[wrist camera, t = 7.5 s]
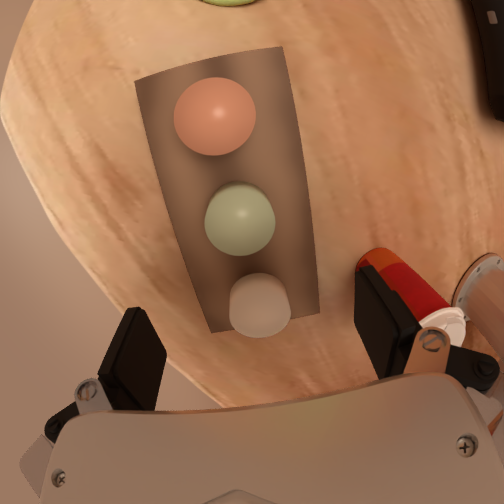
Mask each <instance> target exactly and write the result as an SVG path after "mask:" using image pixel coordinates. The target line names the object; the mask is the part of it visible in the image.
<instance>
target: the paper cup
mask: <svg viewBox="0 0 504 504" xmlns="http://www.w3.org/2000/svg"><path fill="white" fill-rule="evenodd" d="M368 265H373V266H374V268H375V269H376V270H377V271H378V273H379V274H380V275H381V277H382V278H383V279H384V281H385V282H386V284H387V285H388V286H389V288H390V289H391V290H395V291H396V292H397V293H398V294H399V295H400V297H401V298H402V299H403V301H404V302H405V303H406V305H407V306H408V308H409V309H410V310H411V312H412V313H413V315H414V316H415V318H416V319H417V321H418V322H419V323H420V325H421V326H422V328H425V327H438V328H441V329H442V330H444V331H445V332H446V333H447V334H448V335H449V337H450V342H451V345H455V346H458V347H461V345H462V343H463V340H464V338H465V333H466V330H465V326H466V323H465V320H464V314H463V311H462V310H461V309H460V308H458V307H451V306H450V305H449V304H448V303H447V302H446V301H445V300H444V299H443V298H442V297H441V296H440V295H439V294H438V293H437V292H436V291H435V290H434V289H433V288H432V287H431V286H430V285H429V284H428V283H427V282H426V281H425V280H423V279H422V278H421V277H420V276H419V275H418V274H417V273H416V272H415V271H414V270H413V269H412V268H410V267H409V266H408V265H407V264H406V263H405V262H404V261H403V260H401V259H400V258H399V257H398V256H397V255H396V254H394V253H393V252H392V251H390V250H388V249H386V248H376V249H373V250H371V251H369V252H368V253H366V254H365V255H364V256H363V257H362V258H361V259H360V261H359V263H358V264H357V267H356V271H359V268H360V267H363V266H368Z"/></svg>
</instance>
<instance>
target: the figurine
mask: <svg viewBox="0 0 504 504" xmlns="http://www.w3.org/2000/svg"><path fill="white" fill-rule="evenodd" d="M203 1H205V2H207V3H210V4H214V5H218V6H236V5H242V4H247V3H251V2H253V1H255V0H203Z"/></svg>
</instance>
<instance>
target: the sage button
mask: <svg viewBox="0 0 504 504" xmlns="http://www.w3.org/2000/svg"><path fill="white" fill-rule="evenodd" d="M204 224H205V231H206V234H207V236H208V238H209V240H210V241H211V243H212V244H213V245H214V246H215V247H216V248H217V249H219V250H220V251H222V252H224V253H227V254H229V255H234V256H245V255H250V254H253V253H255V252H257V251H259V250H261V249H262V248H263V247H264V246H266V245H267V243H268V242H269V241H270V239H271V238H272V236H273V233H274V230H275V216H274V212H273V210H272V207H271V204H270V202H269V199H268V197H267V195H266V194H265V193H264V191H263V190H262V189H260V188H259V187H258V186H256V185H254V184H252V183H249V182H244V181H235V182H231V183H228V184H225V185H223V186H222V187H220V188H219V189H218V190H217V191H216V192H215V193H214V194H213V196H212V198H211V199H210V202H209V205H208V209H207V212H206V216H205V223H204Z"/></svg>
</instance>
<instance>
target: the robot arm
mask: <svg viewBox="0 0 504 504" xmlns="http://www.w3.org/2000/svg"><path fill="white" fill-rule="evenodd" d="M452 307H458V308H460V309H461V310H462V311H463V314H464V320H465V321H468V320H471V321H472V322H473V323H474V325H475V326H476V327H477V328H478V329H479V331H480V332H481V333H482V334H483V336H484V337H485V338H486V340H487V341H488V342H489V343H490V345H491V346H492V347H493V349H494V350H495V351H496V353H497V354H498V356H499V357H500V358H501V360H502V361H503V362H504V262H503V260H502V258H501V257H500V256H498V255H497V254H494V253H491V254H487V255H485V256H483V257H481V258H480V259H479V260H478V261H476V262H475V263H474V264H473V265H472V266H471V267H470V269H469V270H468V271H467V272H466V274H465V275H464V277H463V278H462V280H461V282H460V284H459V285H458V287H457V290H456V292H455V295H454V299H453V304H452ZM354 323H355V326H356V329H357V331H358V333H359V335H360V337H361V339H362V342H363V344H364V346H365V348H366V351H367V353H368V355H369V357H370V360H371V362H372V364H373V367H374V369H375V371H376V374H377V376H378V378H379V380H375V381H372V382H368V383H364V384H361V385H357V386H353V387H349V388H344V389H340V390H336V391H332V392H327V393H323V394H318V395H313V396H308V397H303V398H297V399H292V400H286V401H280V402H273V403H266V404H259V405H251V406H242V407H232V408H221V409H206V410H184V411H154V410H155V406H156V401H157V396H158V392H159V387H160V383H161V379H162V375H163V370H164V366H165V362H166V358H167V353H166V350H165V348H164V346H163V344H162V342H161V340H160V339H159V337H158V335H157V333H156V331H155V329H154V327H153V325H152V323H151V322H150V320H149V318H148V316H147V314H146V312H145V310H143V309H141V308H140V307H133V308H128V309H127V310H126V312H125V314H124V316H123V318H122V320H121V322H120V324H119V326H118V328H117V331H116V333H115V335H114V337H113V339H112V341H111V344H110V346H109V348H108V350H107V353H106V355H105V357H104V359H103V362H102V364H101V366H100V369H99V371H98V375H99V377H98V380H97V379H94V378H90V379H86V380H84V381H83V382H81V383H80V384H79V385H78V387H77V388H76V390H75V394H74V396H75V402H73V403H72V404H70V405H69V406H67V407H66V408H64V409H63V410H61V411H60V412H58V413H57V414H55V415H54V416H52V417H51V418H50V419H49V420H48V421H47V423H46V425H45V430H44V431H45V436H43V435H41V436H40V437H39V438H38V439H37V440H36V441H35V442H34V443H33V445H32V446H31V447H30V448H29V449H28V450H27V451H26V453H25V454H24V455H23V456H22V458H21V460H20V469H21V471H22V473H23V474H24V476H25V478H26V479H27V481H28V482H29V484H30V485H31V487H32V488H33V490H34V491H35V492H36V494H37V495H38V497H39V498H40V502H39V504H504V373H503V372H501V371H500V368H499V365H498V362H497V361H496V360H495V359H494V358H493V357H492V356H489V355H487V354H483V353H480V352H476V351H472V350H469V349H465V348H462V347H458V346H455V345H451V342H450V337H449V335H448V334H447V333H446V332H445V331H444V330H442V329H441V328H438V327H425V328H422V326H421V325H420V323H419V322H418V321H417V319H416V318H415V316H414V315H413V313H412V312H411V310H410V309H409V308H408V306H407V305H406V303H405V302H404V301H403V299H402V298H401V297H400V295H399V294H398V293H397V292H396V291H395V290H391V289H390V288H389V286H388V285H387V284H386V282H385V281H384V279H383V278H382V277H381V275H380V274H379V273H378V271H377V270H376V269H375V268H374V266H373V265H368V266H363V267H360V268H359V271H356V272H355V303H354Z"/></svg>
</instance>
